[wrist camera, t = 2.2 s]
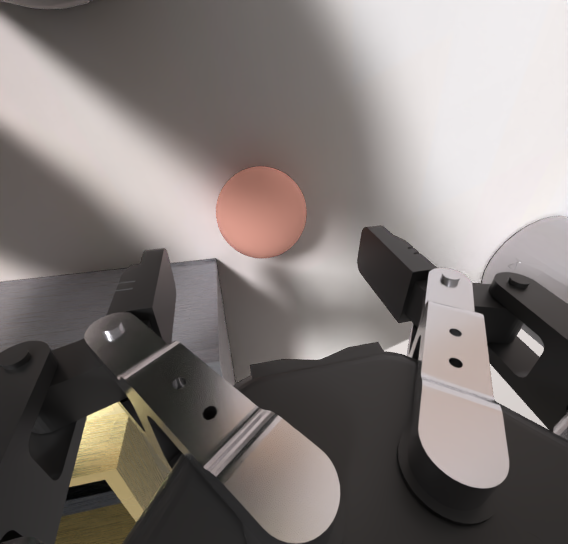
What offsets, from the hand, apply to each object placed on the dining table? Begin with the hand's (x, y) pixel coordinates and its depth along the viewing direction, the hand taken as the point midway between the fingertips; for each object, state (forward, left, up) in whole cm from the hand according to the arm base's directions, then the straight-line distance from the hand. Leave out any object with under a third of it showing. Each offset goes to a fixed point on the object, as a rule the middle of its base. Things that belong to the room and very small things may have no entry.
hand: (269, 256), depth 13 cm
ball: (0, 0, -5) cm, 5 cm away
